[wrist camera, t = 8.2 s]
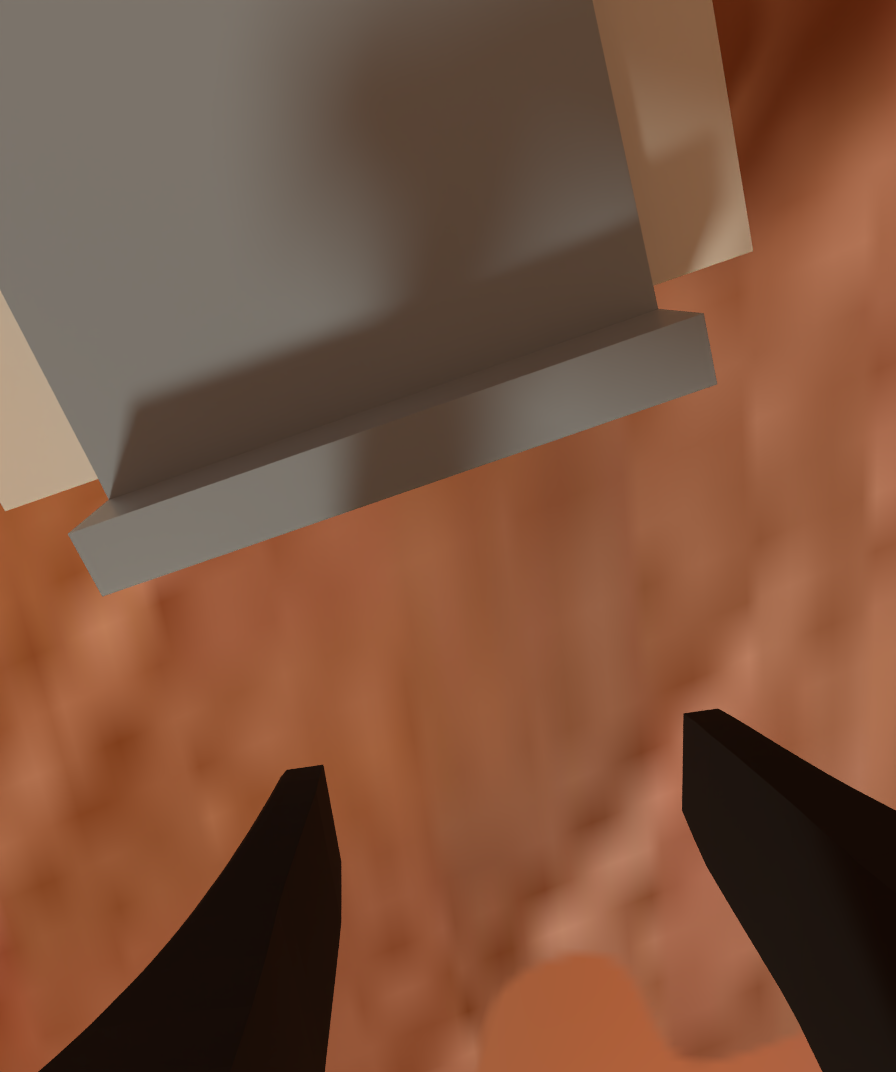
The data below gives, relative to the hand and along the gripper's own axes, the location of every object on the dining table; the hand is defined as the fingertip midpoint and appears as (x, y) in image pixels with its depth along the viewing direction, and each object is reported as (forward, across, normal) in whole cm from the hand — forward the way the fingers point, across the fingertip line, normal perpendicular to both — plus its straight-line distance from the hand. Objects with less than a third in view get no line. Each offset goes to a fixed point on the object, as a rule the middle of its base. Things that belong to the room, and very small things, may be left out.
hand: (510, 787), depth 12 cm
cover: (+5, +2, -10) cm, 11 cm away
